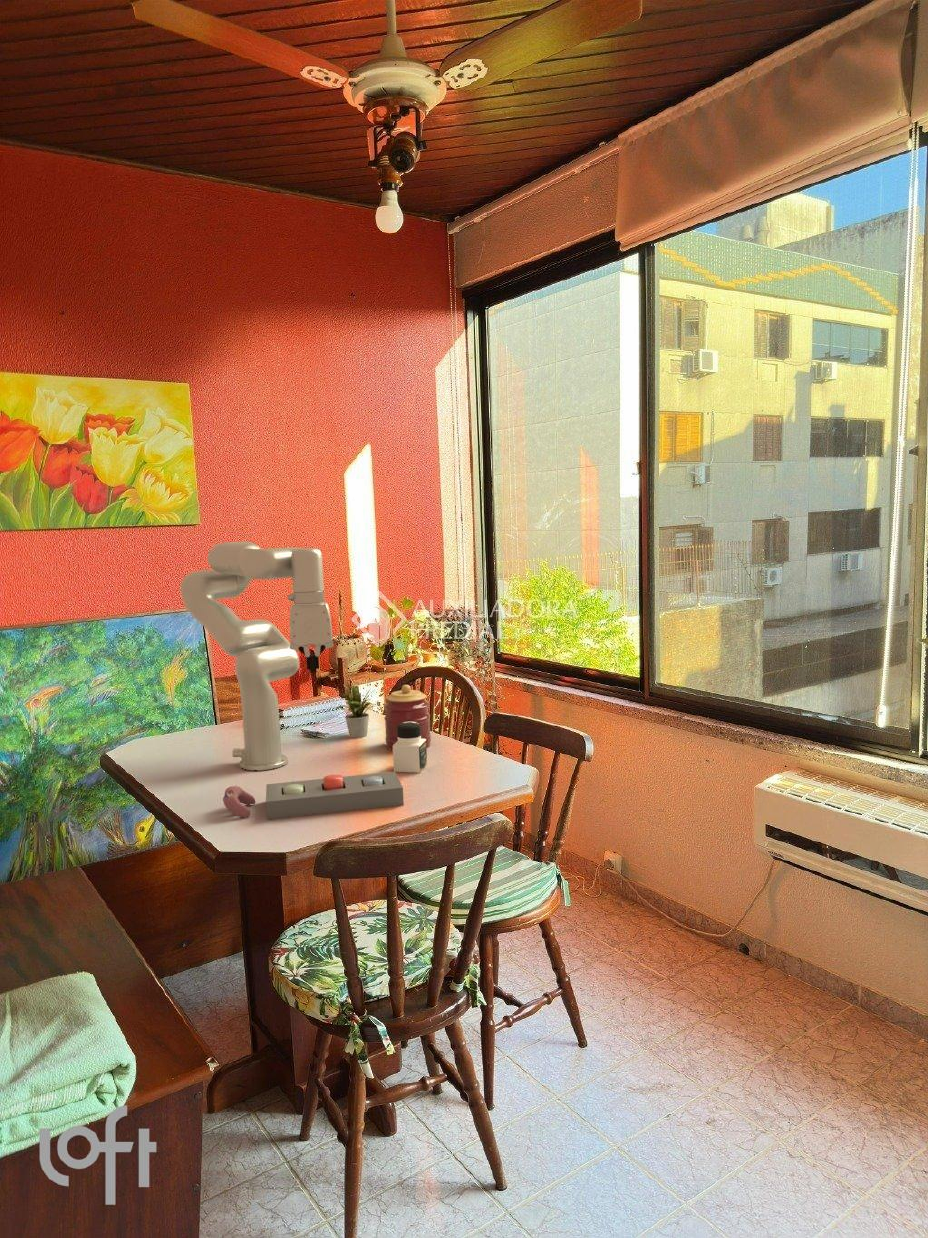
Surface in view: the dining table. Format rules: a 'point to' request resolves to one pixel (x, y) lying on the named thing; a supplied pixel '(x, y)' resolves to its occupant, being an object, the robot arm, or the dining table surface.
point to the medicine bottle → (409, 749)
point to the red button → (333, 782)
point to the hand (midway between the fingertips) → (313, 671)
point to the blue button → (372, 781)
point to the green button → (293, 789)
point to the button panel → (333, 796)
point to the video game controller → (238, 801)
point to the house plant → (356, 713)
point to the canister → (406, 713)
